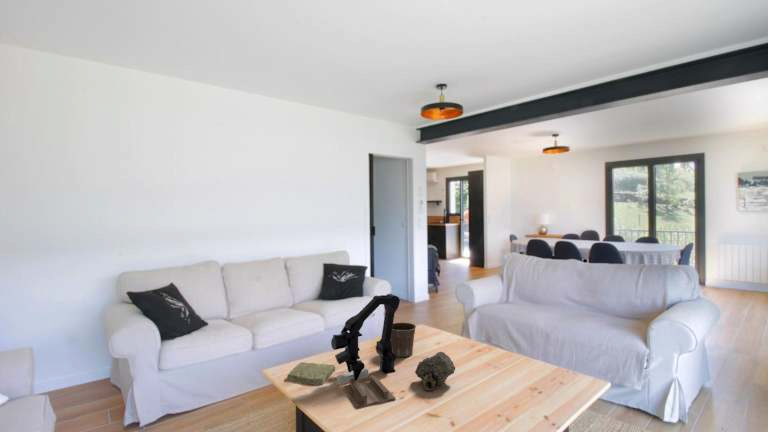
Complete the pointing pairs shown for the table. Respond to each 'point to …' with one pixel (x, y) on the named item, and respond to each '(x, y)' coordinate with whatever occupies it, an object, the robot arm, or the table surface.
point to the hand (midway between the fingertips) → (352, 377)
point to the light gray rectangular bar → (351, 376)
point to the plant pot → (402, 339)
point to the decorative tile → (311, 373)
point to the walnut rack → (368, 392)
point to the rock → (435, 370)
